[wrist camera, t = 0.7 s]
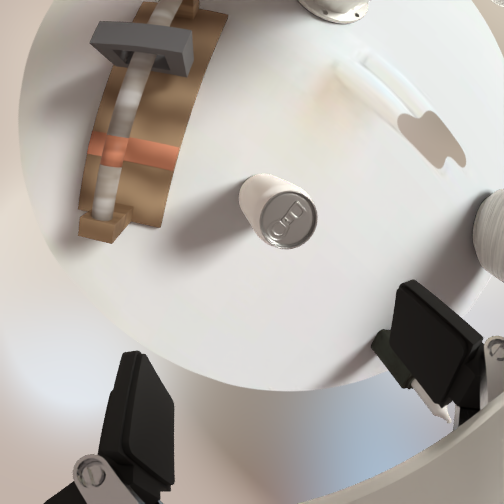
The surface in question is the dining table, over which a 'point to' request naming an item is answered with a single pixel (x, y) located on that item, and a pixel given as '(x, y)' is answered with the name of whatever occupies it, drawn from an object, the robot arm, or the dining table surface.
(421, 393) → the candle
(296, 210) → the can
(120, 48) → the collar
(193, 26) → the rail
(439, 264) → the dining table surface
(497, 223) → the vase
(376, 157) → the dining table surface
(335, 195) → the dining table surface
